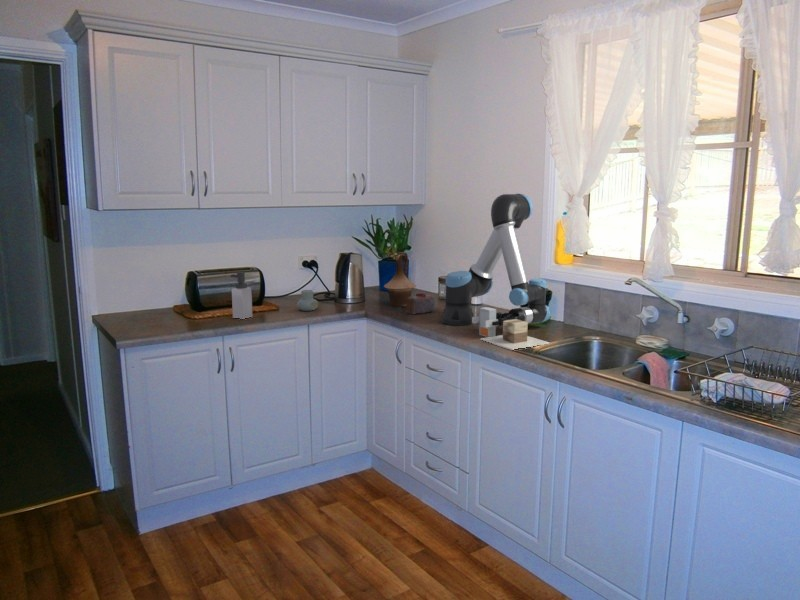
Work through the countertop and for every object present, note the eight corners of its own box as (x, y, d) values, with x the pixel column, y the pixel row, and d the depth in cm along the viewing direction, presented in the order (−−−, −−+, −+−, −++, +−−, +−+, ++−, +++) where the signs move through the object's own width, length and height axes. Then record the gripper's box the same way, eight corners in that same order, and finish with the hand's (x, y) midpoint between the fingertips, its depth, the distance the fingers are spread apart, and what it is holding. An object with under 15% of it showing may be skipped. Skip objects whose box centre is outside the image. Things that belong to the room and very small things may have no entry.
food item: (425, 309, 328) (426, 290, 327) (436, 312, 322) (436, 292, 320) (405, 312, 320) (405, 293, 318) (415, 315, 314) (415, 295, 312)
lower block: (502, 339, 263) (502, 330, 263) (515, 337, 267) (515, 328, 266) (514, 343, 258) (514, 333, 257) (527, 341, 261) (527, 331, 260)
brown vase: (393, 300, 352) (393, 250, 346) (421, 303, 344) (422, 251, 339) (378, 306, 336) (378, 253, 331) (407, 309, 329) (407, 255, 323)
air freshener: (307, 307, 332) (306, 288, 330) (320, 309, 328) (320, 289, 327) (294, 311, 323) (294, 291, 321) (307, 312, 319) (307, 293, 317)
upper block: (502, 330, 263) (503, 320, 262) (515, 328, 266) (516, 319, 265) (514, 333, 257) (514, 324, 256) (527, 331, 260) (527, 322, 260)
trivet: (480, 339, 266) (480, 338, 266) (516, 334, 276) (516, 332, 276) (512, 350, 249) (512, 349, 249) (550, 344, 259) (550, 342, 259)
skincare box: (478, 335, 274) (479, 307, 272) (486, 333, 276) (487, 306, 274) (488, 338, 269) (489, 310, 267) (496, 336, 271) (496, 309, 269)
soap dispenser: (238, 315, 312) (236, 270, 308) (252, 317, 308) (250, 272, 304) (229, 318, 306) (227, 272, 302) (243, 319, 302) (241, 273, 298)
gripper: (536, 329, 273) (494, 335, 261) (504, 320, 290) (463, 326, 278) (536, 312, 271) (495, 318, 260) (504, 304, 289) (464, 309, 277)
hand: (478, 322), depth 269 cm, fingers open, 8 cm apart
